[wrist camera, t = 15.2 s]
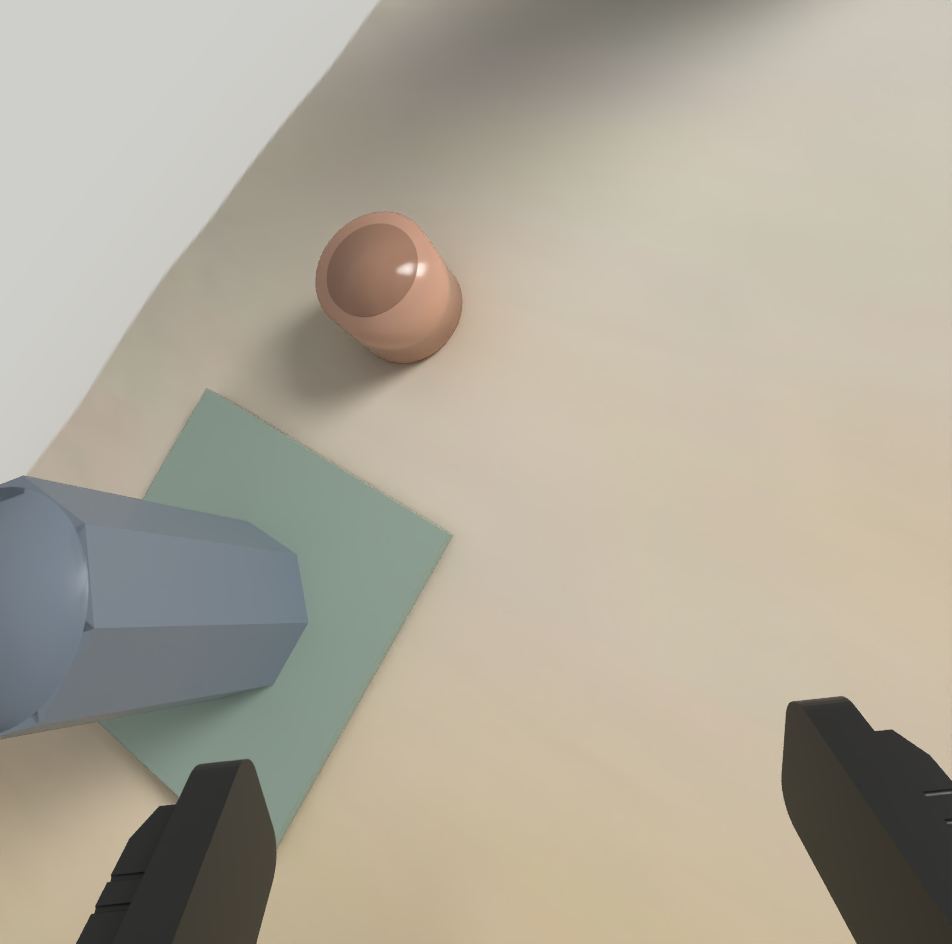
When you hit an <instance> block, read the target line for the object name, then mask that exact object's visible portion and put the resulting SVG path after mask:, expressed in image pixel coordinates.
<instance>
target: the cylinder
mask: <svg viewBox="0 0 952 944" xmlns="http://www.w3.org/2000/svg"><path fill="white" fill-rule="evenodd" d="M316 292H317V296H318V300H319V302H320V304H321V306H322V308H323V310H324V311H325V313H326V314H327V315H328V316H329V317H330V318H331V319H332V320H333V321H335V322H336V323H337V324H338V325H340V326H341V327H342V328H343V329H345V330H346V331H347V332H348V333H350V334H351V335H352V336H353V337H354V338H356V339H357V340H358V341H359V342H361V343H362V344H363V345H364V346H366V347H367V348H368V349H369V350H371V351H372V352H373V353H374V354H376V355H377V356H379V357H380V358H382V359H384V360H387V361H390V362H395V363H410V362H415V361H418V360H421V359H424V358H426V357H428V356H430V355H432V354H433V353H435V352H436V351H437V350H439V349H440V348H441V347H442V346H443V345H444V344H445V343H446V342H447V341H448V340H449V338H450V337H451V336H452V334H453V332H454V331H455V329H456V327H457V325H458V322H459V319H460V316H461V311H462V294H461V289H460V286H459V283H458V281H457V279H456V277H455V276H454V275H453V273H452V272H451V270H450V269H449V268H448V266H447V265H446V263H445V262H444V261H443V259H442V258H441V256H440V255H439V254H438V252H437V251H436V249H435V248H434V247H433V245H432V244H431V242H430V241H429V240H428V238H427V237H426V235H425V234H424V233H423V231H422V230H421V229H420V227H419V226H418V225H417V224H416V223H415V222H413V221H412V220H411V219H409V218H407V217H405V216H403V215H400V214H397V213H392V212H375V213H371V214H367V215H364V216H361V217H359V218H357V219H355V220H353V221H351V222H350V223H348V224H347V225H345V226H344V227H343V228H342V229H340V230H339V231H338V232H337V233H336V234H335V235H334V237H333V238H332V239H331V240H330V241H329V243H328V244H327V246H326V248H325V249H324V251H323V253H322V255H321V258H320V260H319V263H318V267H317V271H316Z"/></svg>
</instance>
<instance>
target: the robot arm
mask: <svg viewBox="0 0 952 944" xmlns="http://www.w3.org/2000/svg"><path fill="white" fill-rule="evenodd" d="M781 781H782V791H783V797H784V801H785V805H786V808H787V811H788V814H789V817H790V819H791V822H792V824H793V826H794V828H795V830H796V832H797V833H798V835H799V837H800V839H801V841H802V843H803V845H804V846H805V848H806V850H807V852H808V854H809V856H810V858H811V859H812V861H813V863H814V865H815V867H816V869H817V871H818V872H819V874H820V876H821V878H822V880H823V882H824V884H825V885H826V887H827V889H828V891H829V893H830V895H831V897H832V898H833V900H834V902H835V904H836V906H837V908H838V910H839V911H840V913H841V915H842V917H843V919H844V921H845V923H846V924H847V926H848V928H849V930H850V932H851V934H852V936H853V937H854V939H855V941H856V943H857V944H952V781H951V780H950V778H949V777H948V776H947V775H946V774H945V772H944V771H943V770H942V769H941V768H940V767H939V765H938V764H937V763H936V762H935V761H934V760H933V758H932V757H931V756H930V755H929V754H927V753H926V752H924V751H923V750H921V749H920V748H918V747H917V746H915V745H914V744H913V743H911V742H910V741H908V740H907V739H905V738H904V737H902V736H901V735H899V734H898V733H896V732H895V731H893V730H883V731H874V730H873V728H872V727H871V726H870V725H869V723H868V722H867V721H866V720H865V718H864V717H863V716H862V714H861V713H860V712H859V711H858V709H857V708H856V707H855V706H854V704H853V703H852V702H851V701H850V700H849V699H847V698H845V697H842V696H839V697H830V698H821V699H811V700H802V701H793V702H790V703H789V705H788V707H787V710H786V721H785V735H784V749H783V763H782V780H781ZM275 866H276V838H275V832H274V828H273V825H272V821H271V818H270V815H269V812H268V808H267V805H266V802H265V798H264V795H263V792H262V788H261V785H260V782H259V778H258V775H257V772H256V769H255V766H254V764H253V762H252V761H251V760H250V759H241V760H232V761H222V762H213V763H204V764H198V765H197V766H195V767H194V769H193V770H192V772H191V773H190V775H189V778H188V780H187V782H186V784H185V786H184V788H183V791H182V793H181V795H180V797H179V799H178V801H177V804H175V805H166V806H159V807H158V808H157V809H156V810H155V811H154V813H153V814H152V815H151V816H150V817H149V818H148V819H147V820H146V821H145V822H144V823H143V825H142V826H141V827H140V828H139V829H138V830H137V831H136V832H135V833H134V834H133V835H132V837H131V838H130V839H129V841H128V843H127V845H126V847H125V849H124V851H123V852H122V854H121V856H120V858H119V860H118V862H117V864H116V866H115V868H114V870H113V872H112V874H111V881H110V882H107V884H106V886H105V888H104V890H103V892H102V894H101V896H100V898H99V900H98V902H97V904H96V906H95V907H96V910H95V913H94V914H91V915H90V917H89V919H88V921H87V923H86V925H85V927H84V929H83V931H82V933H81V935H80V937H79V939H78V941H77V943H76V944H256V942H257V938H258V935H259V931H260V927H261V923H262V920H263V916H264V912H265V908H266V905H267V901H268V897H269V893H270V890H271V886H272V882H273V878H274V873H275Z"/></svg>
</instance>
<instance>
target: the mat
mask: <svg viewBox="0 0 952 944" xmlns="http://www.w3.org/2000/svg"><path fill="white" fill-rule="evenodd" d="M143 500H146V501H151V502H155V503H160V504H165V505H170V506H175V507H180V508H185V509H190V510H195V511H200V512H205V513H209V514H214V515H219V516H224V517H229V518H234V519H239V520H244V521H249V522H250V523H252V524H253V525H254V526H256V527H257V528H259V529H260V530H262V531H263V532H265V533H266V534H268V535H269V536H271V537H272V538H274V539H275V540H277V541H278V542H280V543H281V544H282V545H284V546H285V547H287V548H288V549H290V550H291V551H293V552H294V553H296V554H297V558H298V564H299V570H300V576H301V582H302V587H303V593H304V599H305V605H306V611H307V617H308V624H307V626H306V628H305V630H304V631H303V633H302V635H301V637H300V638H299V640H298V642H297V644H296V646H295V647H294V649H293V651H292V653H291V654H290V656H289V658H288V660H287V661H286V663H285V665H284V667H283V668H282V670H281V672H280V674H279V676H278V677H277V679H276V681H275V683H274V684H273V685H270V686H266V687H262V688H258V689H255V690H251V691H247V692H243V693H239V694H235V695H232V696H228V697H224V698H220V699H216V700H212V701H207V702H201V703H196V704H190V705H185V706H179V707H174V708H168V709H163V710H158V711H152V712H147V713H141V714H136V715H130V716H125V717H119V718H114V719H108V720H103V721H98V722H99V723H100V724H101V725H102V726H103V727H104V728H105V729H106V730H107V731H108V732H109V733H110V734H112V735H113V736H114V737H115V738H116V739H117V740H118V741H119V742H120V743H121V744H122V745H123V746H124V747H126V748H127V749H128V750H129V751H130V752H131V753H132V754H133V755H134V756H135V757H136V758H137V759H138V760H140V761H141V762H142V763H143V764H144V765H145V766H146V767H147V768H148V769H149V770H150V771H151V772H152V773H153V774H155V775H156V776H157V777H158V778H159V779H160V780H161V781H162V782H163V783H164V784H165V785H166V786H167V787H169V788H170V789H171V790H172V791H173V792H174V793H175V794H176V795H177V796H178V797H180V795H181V793H182V791H183V788H184V786H185V784H186V782H187V780H188V778H189V775H190V773H191V772H192V770H193V769H194V767H195V766H197V765H198V764H204V763H213V762H222V761H232V760H241V759H250V760H251V761H252V762H253V764H254V766H255V769H256V772H257V775H258V778H259V782H260V785H261V788H262V792H263V795H264V798H265V802H266V805H267V808H268V812H269V815H270V818H271V821H272V825H273V828H274V832H275V838H276V849H277V847H278V845H279V843H280V841H281V840H282V838H283V836H284V834H285V833H286V831H287V829H288V827H289V825H290V824H291V822H292V820H293V818H294V817H295V815H296V813H297V811H298V810H299V808H300V806H301V804H302V802H303V801H304V799H305V797H306V795H307V794H308V792H309V790H310V788H311V786H312V785H313V783H314V781H315V779H316V778H317V776H318V774H319V772H320V770H321V769H322V767H323V765H324V763H325V762H326V760H327V758H328V756H329V755H330V753H331V751H332V749H333V747H334V746H335V744H336V742H337V740H338V739H339V737H340V735H341V733H342V731H343V730H344V728H345V726H346V724H347V723H348V721H349V719H350V717H351V715H352V714H353V712H354V710H355V708H356V707H357V705H358V703H359V701H360V700H361V698H362V696H363V694H364V692H365V691H366V689H367V687H368V685H369V684H370V682H371V680H372V678H373V676H374V675H375V673H376V671H377V669H378V668H379V666H380V664H381V662H382V660H383V659H384V657H385V655H386V653H387V652H388V650H389V648H390V646H391V645H392V643H393V641H394V639H395V637H396V636H397V634H398V632H399V630H400V629H401V627H402V625H403V623H404V621H405V620H406V618H407V616H408V614H409V613H410V611H411V609H412V607H413V605H414V604H415V602H416V600H417V598H418V597H419V595H420V593H421V591H422V590H423V588H424V586H425V584H426V582H427V581H428V579H429V577H430V575H431V574H432V572H433V570H434V568H435V566H436V565H437V563H438V561H439V559H440V558H441V556H442V554H443V552H444V550H445V549H446V547H447V545H448V543H449V542H450V540H451V538H452V536H453V535H452V534H450V533H448V532H447V531H445V530H443V529H442V528H440V527H438V526H437V525H435V524H433V523H432V522H430V521H428V520H427V519H425V518H423V517H422V516H420V515H418V514H417V513H415V512H414V511H412V510H410V509H409V508H407V507H405V506H404V505H402V504H400V503H399V502H397V501H395V500H394V499H392V498H390V497H389V496H387V495H385V494H384V493H382V492H380V491H379V490H377V489H375V488H374V487H372V486H370V485H369V484H367V483H365V482H364V481H362V480H360V479H359V478H357V477H355V476H354V475H352V474H350V473H349V472H347V471H345V470H344V469H342V468H340V467H339V466H337V465H335V464H334V463H332V462H330V461H329V460H327V459H325V458H324V457H322V456H320V455H319V454H317V453H315V452H314V451H312V450H310V449H309V448H307V447H305V446H304V445H302V444H300V443H299V442H297V441H296V440H294V439H292V438H291V437H289V436H287V435H286V434H284V433H282V432H281V431H279V430H277V429H276V428H274V427H272V426H271V425H269V424H267V423H266V422H264V421H262V420H261V419H259V418H257V417H256V416H254V415H252V414H251V413H249V412H247V411H246V410H244V409H242V408H241V407H239V406H237V405H236V404H234V403H232V402H231V401H229V400H227V399H226V398H224V397H222V396H221V395H219V394H217V393H216V392H214V391H211V390H209V389H206V390H205V392H204V394H203V396H202V397H201V399H200V401H199V403H198V404H197V406H196V408H195V409H194V411H193V413H192V415H191V416H190V418H189V420H188V422H187V423H186V425H185V427H184V429H183V430H182V432H181V434H180V436H179V437H178V439H177V441H176V443H175V444H174V446H173V448H172V449H171V451H170V453H169V455H168V456H167V458H166V460H165V462H164V463H163V465H162V467H161V469H160V470H159V472H158V474H157V476H156V477H155V479H154V481H153V482H152V484H151V486H150V488H149V489H148V491H147V493H146V495H145V496H144V498H143Z"/></svg>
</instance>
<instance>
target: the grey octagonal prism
mask: <svg viewBox="0 0 952 944" xmlns="http://www.w3.org/2000/svg"><path fill="white" fill-rule="evenodd" d="M307 624H308V617H307V611H306V605H305V599H304V593H303V587H302V582H301V576H300V570H299V564H298V558H297V554H296V553H294V552H293V551H291V550H290V549H288V548H287V547H285V546H284V545H282V544H281V543H280V542H278V541H277V540H275V539H274V538H272V537H271V536H269V535H268V534H266V533H265V532H263V531H262V530H260V529H259V528H257V527H256V526H254V525H253V524H252V523H250V522H249V521H244V520H239V519H234V518H229V517H224V516H219V515H214V514H209V513H205V512H200V511H195V510H190V509H185V508H180V507H175V506H170V505H165V504H160V503H155V502H151V501H146V500H141V499H136V498H131V497H126V496H121V495H116V494H111V493H106V492H101V491H97V490H92V489H87V488H82V487H77V486H72V485H67V484H62V483H57V482H52V481H47V480H42V479H38V478H33V477H28V476H21V477H19V478H16V479H13V480H11V481H8V482H6V483H3V484H1V485H0V739H4V738H10V737H15V736H21V735H26V734H32V733H37V732H43V731H48V730H54V729H59V728H65V727H70V726H76V725H81V724H86V723H92V722H97V721H103V720H108V719H114V718H119V717H125V716H130V715H136V714H141V713H147V712H152V711H158V710H163V709H168V708H174V707H179V706H185V705H190V704H196V703H201V702H207V701H212V700H216V699H220V698H224V697H228V696H232V695H235V694H239V693H243V692H247V691H251V690H255V689H258V688H262V687H266V686H270V685H273V684H274V683H275V681H276V679H277V677H278V676H279V674H280V672H281V670H282V668H283V667H284V665H285V663H286V661H287V660H288V658H289V656H290V654H291V653H292V651H293V649H294V647H295V646H296V644H297V642H298V640H299V638H300V637H301V635H302V633H303V631H304V630H305V628H306V626H307Z"/></svg>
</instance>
